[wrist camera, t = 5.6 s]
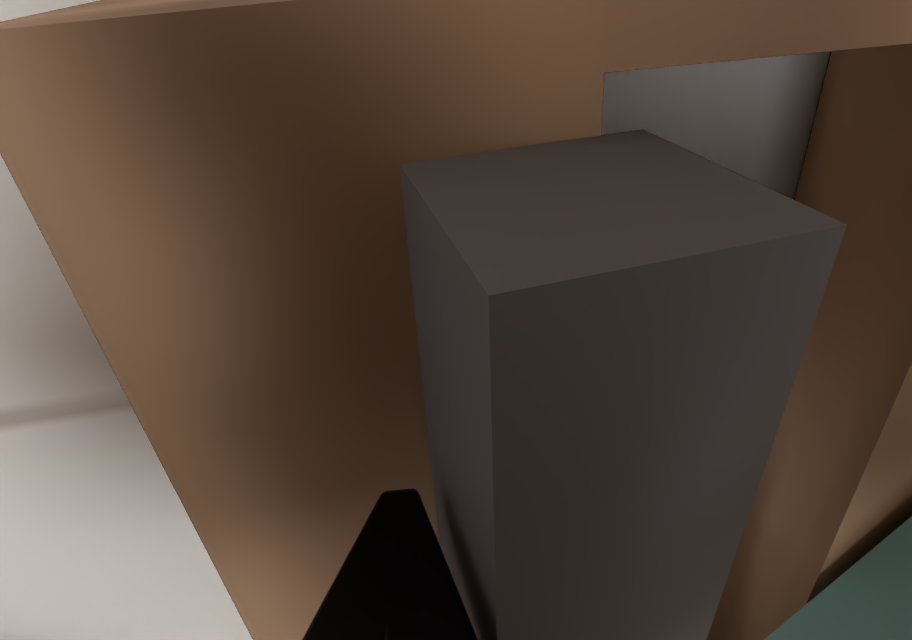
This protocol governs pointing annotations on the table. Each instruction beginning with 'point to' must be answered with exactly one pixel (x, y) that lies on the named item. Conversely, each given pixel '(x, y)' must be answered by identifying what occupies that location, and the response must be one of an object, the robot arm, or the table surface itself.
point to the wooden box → (387, 257)
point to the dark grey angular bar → (603, 375)
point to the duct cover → (862, 598)
